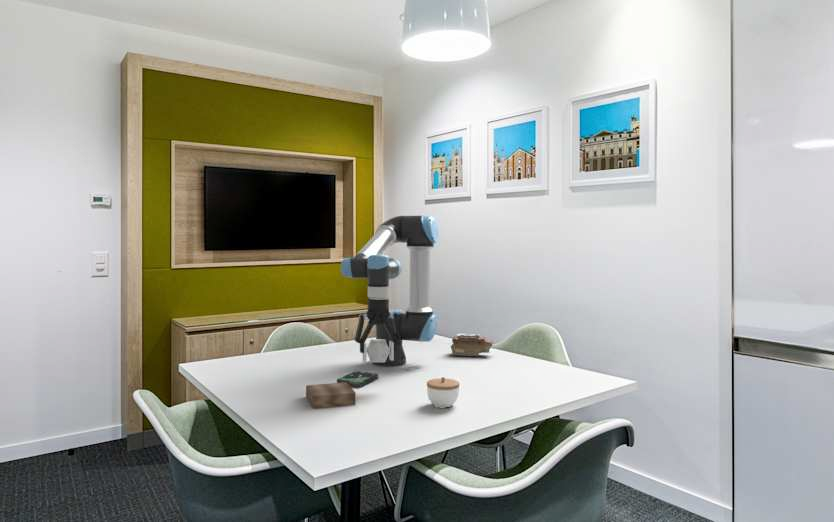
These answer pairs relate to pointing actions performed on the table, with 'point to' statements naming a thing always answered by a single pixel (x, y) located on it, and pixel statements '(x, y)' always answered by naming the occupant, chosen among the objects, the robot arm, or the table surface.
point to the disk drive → (358, 379)
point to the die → (378, 350)
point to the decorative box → (470, 345)
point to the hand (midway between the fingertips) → (378, 360)
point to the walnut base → (330, 395)
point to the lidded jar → (442, 391)
